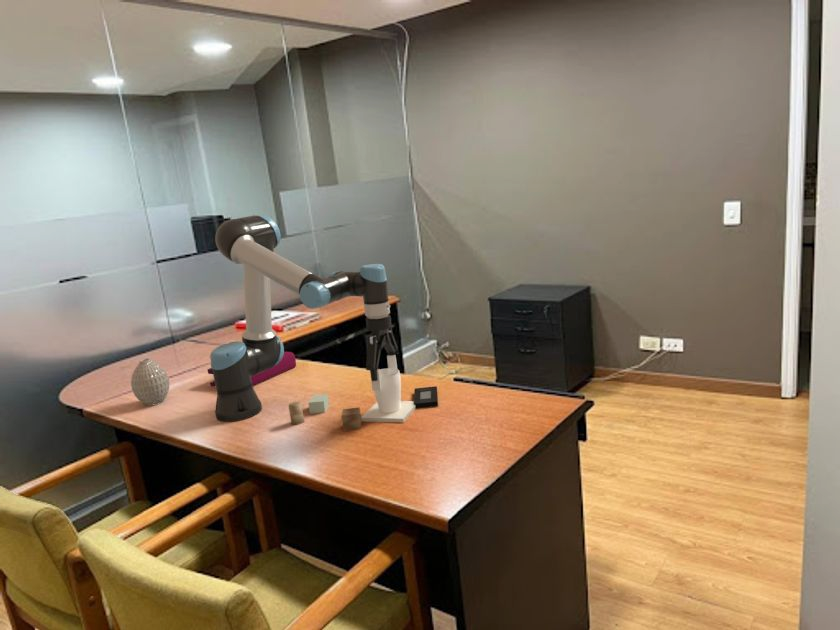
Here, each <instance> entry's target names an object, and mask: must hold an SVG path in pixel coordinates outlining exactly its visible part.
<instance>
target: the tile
mask: <svg viewBox="0 0 840 630" xmlns="http://www.w3.org/2000/svg"><path fill="white" fill-rule="evenodd" d="M416 410H417V409H416V406H415V405H414V400H413V401H412V400H410V401H409V400H401V408H400V409H399V410H398V411H396V412H392V413H383V412H380V411H379V407H378V404H377V401H376V402H375V403H374V404H373V405H372V406H371V407H370V408H369V409H368V410H367V411H366V412H364V414H363V415H361V422H372V423H373V422H375V423H376V422H378V423H405V422H406V421H407V420H408V419H409V417H410V416H411V415H412V414H413V412H414V411H416Z"/></svg>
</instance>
